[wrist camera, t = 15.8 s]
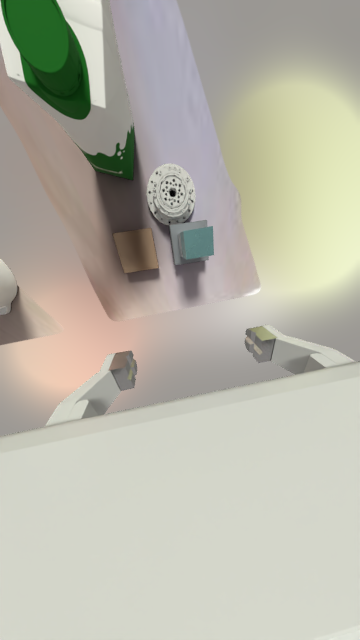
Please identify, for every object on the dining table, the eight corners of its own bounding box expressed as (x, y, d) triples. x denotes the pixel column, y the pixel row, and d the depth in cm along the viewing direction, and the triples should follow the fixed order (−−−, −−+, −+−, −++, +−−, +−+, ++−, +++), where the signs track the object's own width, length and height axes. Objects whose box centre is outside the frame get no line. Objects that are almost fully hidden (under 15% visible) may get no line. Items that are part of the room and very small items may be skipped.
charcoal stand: (174, 263, 37) (175, 265, 34) (168, 226, 33) (169, 225, 31) (204, 258, 37) (208, 259, 35) (203, 221, 34) (206, 219, 31)
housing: (180, 256, 34) (186, 259, 26) (177, 234, 31) (183, 230, 24) (201, 252, 34) (213, 254, 26) (199, 230, 32) (212, 226, 24)
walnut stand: (126, 271, 36) (124, 273, 34) (116, 234, 33) (112, 233, 30) (158, 266, 37) (158, 267, 34) (151, 229, 33) (150, 227, 30)
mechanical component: (146, 222, 33) (189, 229, 34) (144, 219, 29) (193, 227, 30) (148, 161, 28) (197, 173, 30) (146, 148, 24) (203, 162, 26)
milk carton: (90, 176, 28) (-28, 55, 10) (84, 103, 24) (-124, -294, 6) (137, 187, 29) (106, 101, 12) (139, 121, 26) (96, -155, 8)
